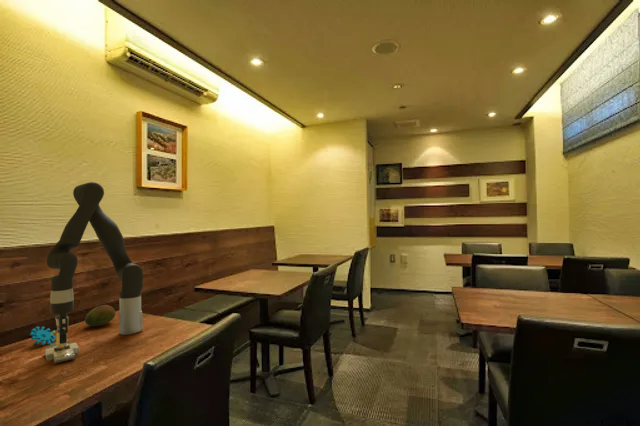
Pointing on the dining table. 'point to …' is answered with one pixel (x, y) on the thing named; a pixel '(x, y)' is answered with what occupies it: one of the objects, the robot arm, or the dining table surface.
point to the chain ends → (62, 352)
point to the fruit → (100, 315)
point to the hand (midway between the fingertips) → (62, 340)
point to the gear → (42, 335)
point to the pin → (58, 345)
